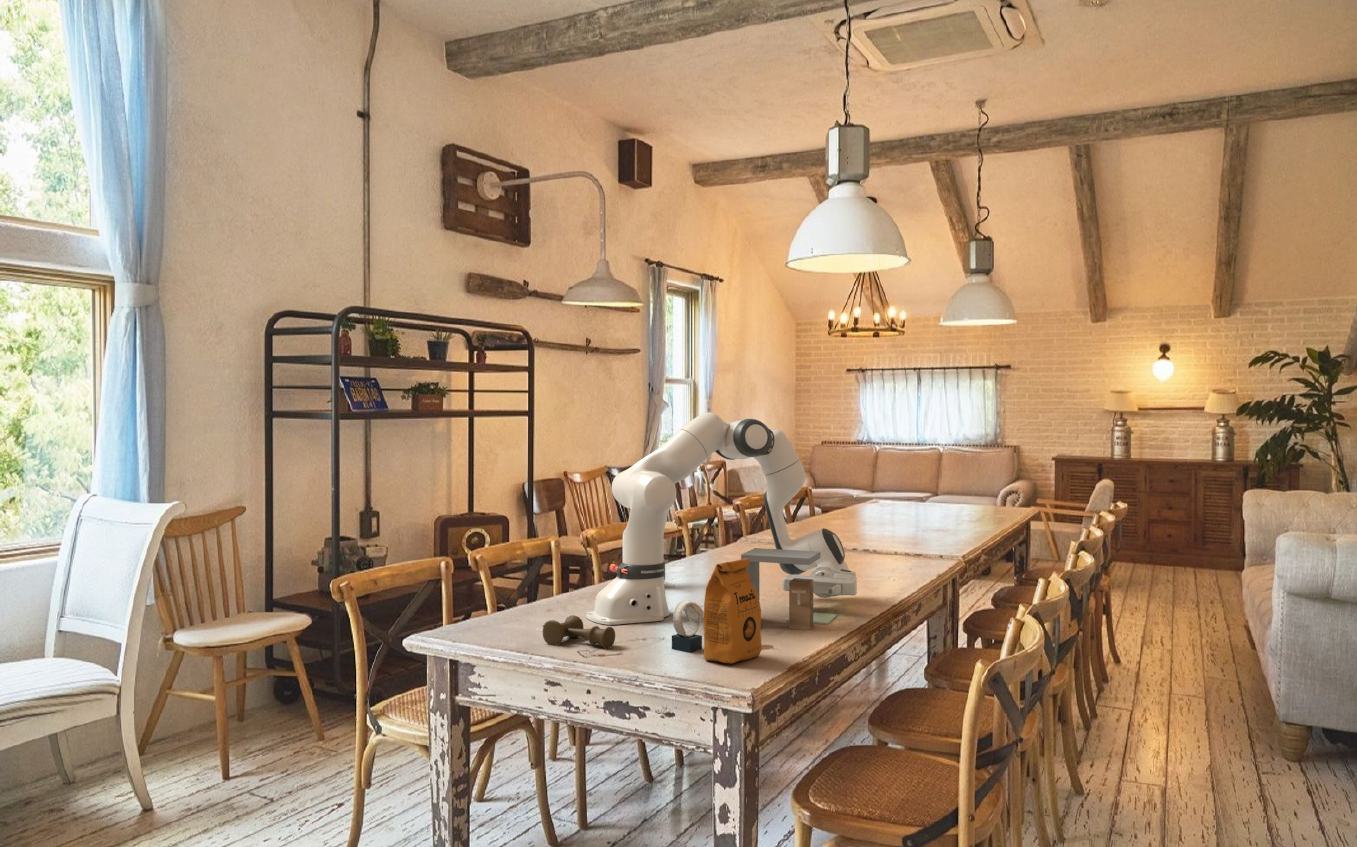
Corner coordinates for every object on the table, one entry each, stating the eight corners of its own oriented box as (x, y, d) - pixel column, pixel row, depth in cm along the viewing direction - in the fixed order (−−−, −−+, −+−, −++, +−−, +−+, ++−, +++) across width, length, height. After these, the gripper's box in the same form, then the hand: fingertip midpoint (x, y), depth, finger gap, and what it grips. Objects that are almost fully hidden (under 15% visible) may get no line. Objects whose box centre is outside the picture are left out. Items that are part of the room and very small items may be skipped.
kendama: (598, 655, 216) (529, 642, 226) (621, 647, 224) (554, 634, 234) (599, 629, 216) (530, 616, 226) (622, 621, 224) (555, 610, 234)
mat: (796, 612, 258) (796, 611, 258) (836, 615, 253) (836, 614, 253) (786, 621, 247) (786, 619, 247) (827, 624, 243) (827, 623, 243)
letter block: (794, 624, 243) (794, 578, 243) (813, 626, 242) (813, 579, 241) (789, 628, 239) (789, 581, 238) (808, 630, 237) (808, 582, 237)
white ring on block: (707, 647, 220) (707, 600, 220) (685, 654, 214) (685, 606, 214) (688, 643, 224) (688, 597, 224) (666, 650, 218) (666, 602, 217)
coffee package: (768, 658, 211) (768, 559, 210) (730, 669, 202) (730, 566, 202) (735, 650, 218) (735, 554, 217) (697, 660, 209) (697, 561, 209)
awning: (755, 617, 251) (755, 548, 251) (820, 623, 244) (820, 551, 244) (741, 627, 240) (741, 554, 240) (809, 633, 233) (809, 558, 233)
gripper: (789, 567, 268) (775, 575, 255) (861, 571, 261) (851, 580, 248) (789, 589, 268) (775, 599, 255) (861, 594, 261) (851, 604, 248)
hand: (813, 590), depth 251 cm, fingers open, 8 cm apart
